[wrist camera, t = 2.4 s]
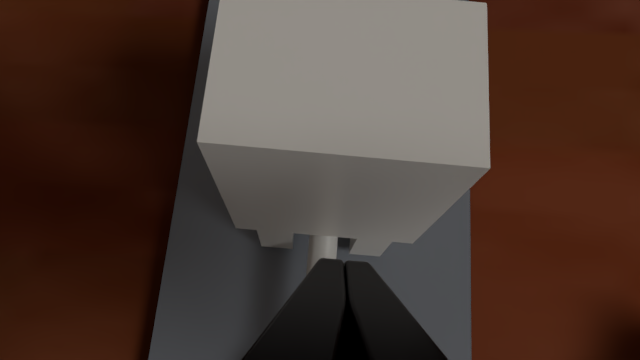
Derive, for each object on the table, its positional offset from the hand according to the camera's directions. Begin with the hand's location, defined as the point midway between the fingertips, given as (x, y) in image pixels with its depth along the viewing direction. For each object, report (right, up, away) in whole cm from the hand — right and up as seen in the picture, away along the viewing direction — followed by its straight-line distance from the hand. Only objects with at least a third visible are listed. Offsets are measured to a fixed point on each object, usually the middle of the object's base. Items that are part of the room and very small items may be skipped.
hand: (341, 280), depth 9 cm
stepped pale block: (0, +1, +12) cm, 12 cm away
